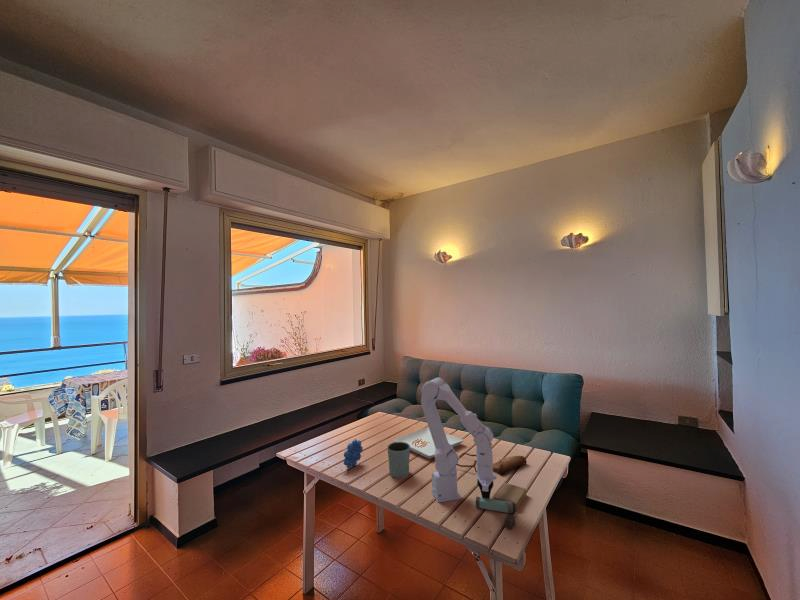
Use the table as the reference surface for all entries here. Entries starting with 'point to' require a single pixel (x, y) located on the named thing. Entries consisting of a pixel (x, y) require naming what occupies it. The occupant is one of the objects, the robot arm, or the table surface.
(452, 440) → the square plate
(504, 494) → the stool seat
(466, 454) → the glasses
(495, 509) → the stool leg
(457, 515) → the table surface
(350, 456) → the grapes
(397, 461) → the green cup
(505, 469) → the sunglasses case
